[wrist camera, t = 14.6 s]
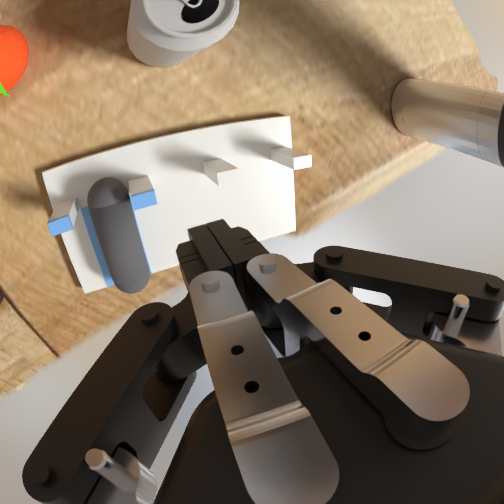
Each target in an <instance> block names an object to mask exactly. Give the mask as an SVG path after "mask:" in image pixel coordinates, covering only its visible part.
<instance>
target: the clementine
mask: <svg viewBox="0 0 504 504" xmlns="http://www.w3.org/2000/svg"><path fill="white" fill-rule="evenodd" d="M28 55H29V52H28V44H27V41H26V39H25V37H24V35H23V34H22V33H21V32H20V31H19V30H18V29H16V28H14V27H11V26H3V25H1V26H0V96H1V95H6V96H8V97H10V95H9V94H8V93H7V92H8V91H9V90H10V89H12V88H13V87H14V85H15V84H16V83H17V82H18V81H19V79H20V77H21V76H22V74H23V72H24V70H25V67H26V65H27V61H28Z"/></svg>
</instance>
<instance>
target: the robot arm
mask: <svg viewBox="0 0 504 504" xmlns="http://www.w3.org/2000/svg"><path fill="white" fill-rule="evenodd" d="M391 109H392V116H393V120H394V123H395V125H396V127H397V129H398V130H399V131H400V132H401V133H402V134H404V135H406V136H409V137H413V138H417V139H420V140H424V141H427V142H430V143H434V144H437V145H440V146H444V147H447V148H450V149H453V150H456V151H460V152H462V153H465V154H468V155H471V156H474V157H477V158H480V159H483V160H486V161H488V162H491V163H494V164H496V165H499V166H501V167H504V93H499V92H495V91H490V90H485V89H480V88H475V87H469V86H464V85H457V84H451V83H444V82H437V81H429V80H420V79H409V78H408V79H404V80H402V81H401V82H400V83H399V84H398V85H397V86H396V88H395V90H394V93H393V97H392V104H391ZM187 230H188V236H189V240H190V241H187V242H183V243H180V244H178V247H177V249H176V254H177V258H178V262H179V265H180V269H181V272H182V275H183V279H184V282H185V285H186V288H187V290H188V294H187V296H186V297H185V298H184V299H183V300H182V301H181V302H180V303H178V304H177V305H175V306H173V307H172V308H171V307H170V306H169V305H167V304H165V303H161V302H154V303H149V304H146V305H144V306H142V307H140V308H138V309H137V310H136V311H135V312H134V313H133V314H132V315H131V316H130V317H129V319H128V320H127V321H126V323H125V324H124V325H123V326H122V328H121V329H120V330H119V332H118V333H117V334H116V335H115V337H114V338H113V339H112V341H111V342H110V343H109V345H108V346H107V347H106V349H105V350H104V351H103V353H102V354H101V355H100V357H99V358H98V359H97V361H96V362H95V363H94V365H93V366H92V367H91V369H90V370H89V371H88V373H87V374H86V376H85V377H84V379H83V380H82V381H81V382H80V384H79V385H78V387H77V388H76V389H75V391H74V392H73V394H72V395H71V397H70V398H69V399H68V401H67V402H66V403H65V405H64V406H63V408H62V409H61V410H60V412H59V413H58V415H57V416H56V418H55V419H54V421H53V422H52V424H51V425H50V426H49V428H48V429H47V431H46V432H45V434H44V436H43V437H42V438H41V440H40V441H39V443H38V444H37V446H36V447H35V449H34V450H33V452H32V454H31V455H30V457H29V458H28V460H27V461H26V463H25V465H24V468H23V474H22V479H23V484H24V487H25V489H26V491H27V492H28V494H29V495H30V496H31V497H32V498H34V499H35V500H37V501H39V502H41V503H43V504H504V357H503V356H502V354H501V339H500V328H499V320H500V318H501V316H502V314H503V311H504V281H503V280H502V279H500V278H499V277H497V276H494V275H490V274H485V273H480V272H475V271H470V270H465V269H460V268H455V267H450V266H444V265H439V264H434V263H429V262H423V261H418V260H413V259H408V258H402V257H397V256H391V255H386V254H380V253H374V252H369V251H363V250H358V249H352V248H347V247H341V246H327V247H323V248H321V249H319V250H317V252H316V253H315V254H314V262H311V263H303V264H293V263H292V262H291V261H290V260H288V259H287V258H286V257H284V256H282V255H279V254H270V253H269V252H268V251H267V250H266V249H265V248H264V247H263V245H262V244H261V243H260V242H259V241H257V239H256V238H255V237H253V235H252V234H251V233H250V232H249V231H248V230H247V229H244V228H242V227H239V226H238V227H234V228H231V227H230V226H229V225H228V224H227V223H226V221H225V220H224V219H220V220H216V221H213V222H209V223H206V225H205V224H203V225H199V226H196V227H192V228H189V229H187ZM353 287H357V288H362V289H366V290H371V291H376V292H381V293H385V294H387V295H388V296H389V297H390V298H391V300H392V305H391V306H389V307H382V306H378V305H373V304H368V303H364V302H361V301H360V300H358V299H357V298H356V297H354V296H353V295H352V293H353ZM205 364H207V365H208V368H209V372H210V375H211V379H212V382H213V386H214V389H215V390H214V391H212V392H211V393H210V394H209V395H207V396H206V397H205V398H204V399H203V401H202V402H201V403H200V404H199V405H198V407H197V408H196V410H195V411H194V413H193V414H192V416H191V418H190V420H189V423H188V425H187V427H186V429H185V432H184V434H183V436H182V439H181V441H180V443H179V445H178V448H177V450H176V452H175V455H174V457H173V459H172V462H171V464H170V466H169V468H168V471H167V473H166V475H165V478H164V480H163V482H162V484H161V487H160V489H159V491H158V494H157V496H156V498H155V500H154V497H155V493H156V490H157V482H156V479H155V476H154V475H153V473H152V472H151V471H150V470H149V469H150V467H151V465H152V463H153V461H154V460H155V458H156V456H157V454H158V452H159V450H160V448H161V446H162V444H163V442H164V440H165V438H166V436H167V434H168V432H169V430H170V428H171V426H172V424H173V422H174V420H175V418H176V416H177V414H178V412H179V410H180V409H181V407H182V404H183V403H184V401H185V399H186V397H187V394H188V393H189V391H190V389H191V387H192V385H193V383H194V381H195V378H196V370H198V369H199V368H201V367H202V366H204V365H205Z"/></svg>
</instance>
